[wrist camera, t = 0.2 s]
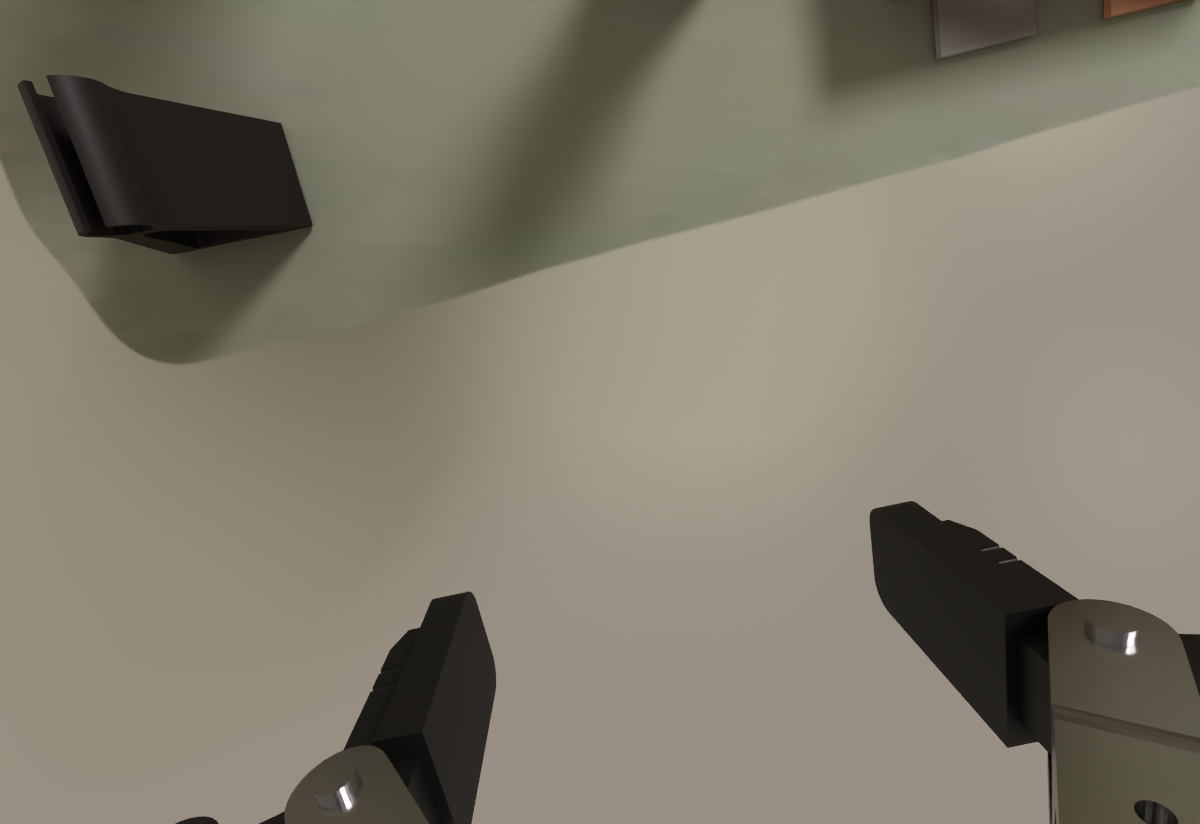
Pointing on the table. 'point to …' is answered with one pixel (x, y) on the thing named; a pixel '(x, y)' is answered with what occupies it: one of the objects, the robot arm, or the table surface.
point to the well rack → (1000, 21)
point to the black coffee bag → (164, 167)
